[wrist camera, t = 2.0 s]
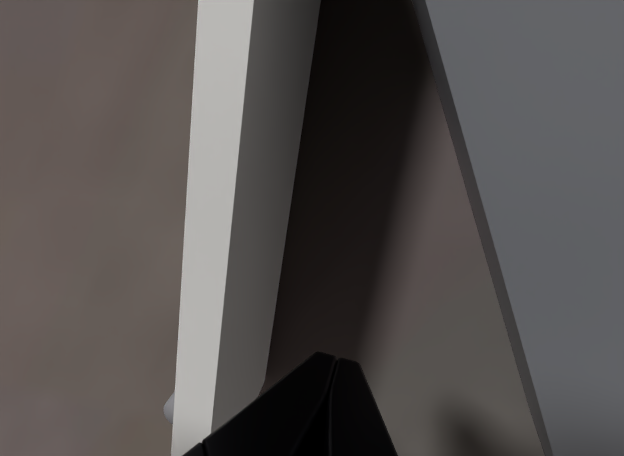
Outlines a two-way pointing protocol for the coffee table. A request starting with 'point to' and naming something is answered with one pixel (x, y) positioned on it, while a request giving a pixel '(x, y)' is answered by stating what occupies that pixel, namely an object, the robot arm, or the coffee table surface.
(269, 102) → the side door
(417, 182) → the coffee table surface
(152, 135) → the coffee table surface
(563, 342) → the grey slab
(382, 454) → the robot arm
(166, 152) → the coffee table surface
